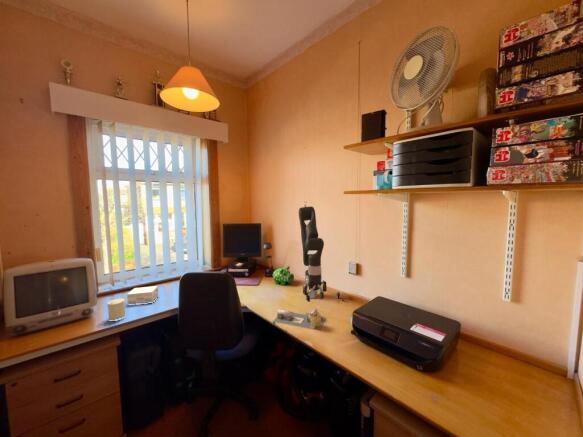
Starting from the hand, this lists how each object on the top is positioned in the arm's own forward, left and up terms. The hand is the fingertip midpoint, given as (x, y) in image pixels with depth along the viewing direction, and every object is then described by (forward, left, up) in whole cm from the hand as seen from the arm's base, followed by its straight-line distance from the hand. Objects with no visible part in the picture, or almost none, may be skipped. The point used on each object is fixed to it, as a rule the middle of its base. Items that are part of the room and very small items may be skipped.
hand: (315, 300), depth 139 cm
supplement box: (+8, -133, -18) cm, 134 cm away
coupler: (0, 0, -16) cm, 16 cm away
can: (+33, -124, -17) cm, 129 cm away
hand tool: (-8, +24, -18) cm, 31 cm away
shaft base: (-4, -11, -17) cm, 21 cm away
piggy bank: (-63, -49, -17) cm, 82 cm away
